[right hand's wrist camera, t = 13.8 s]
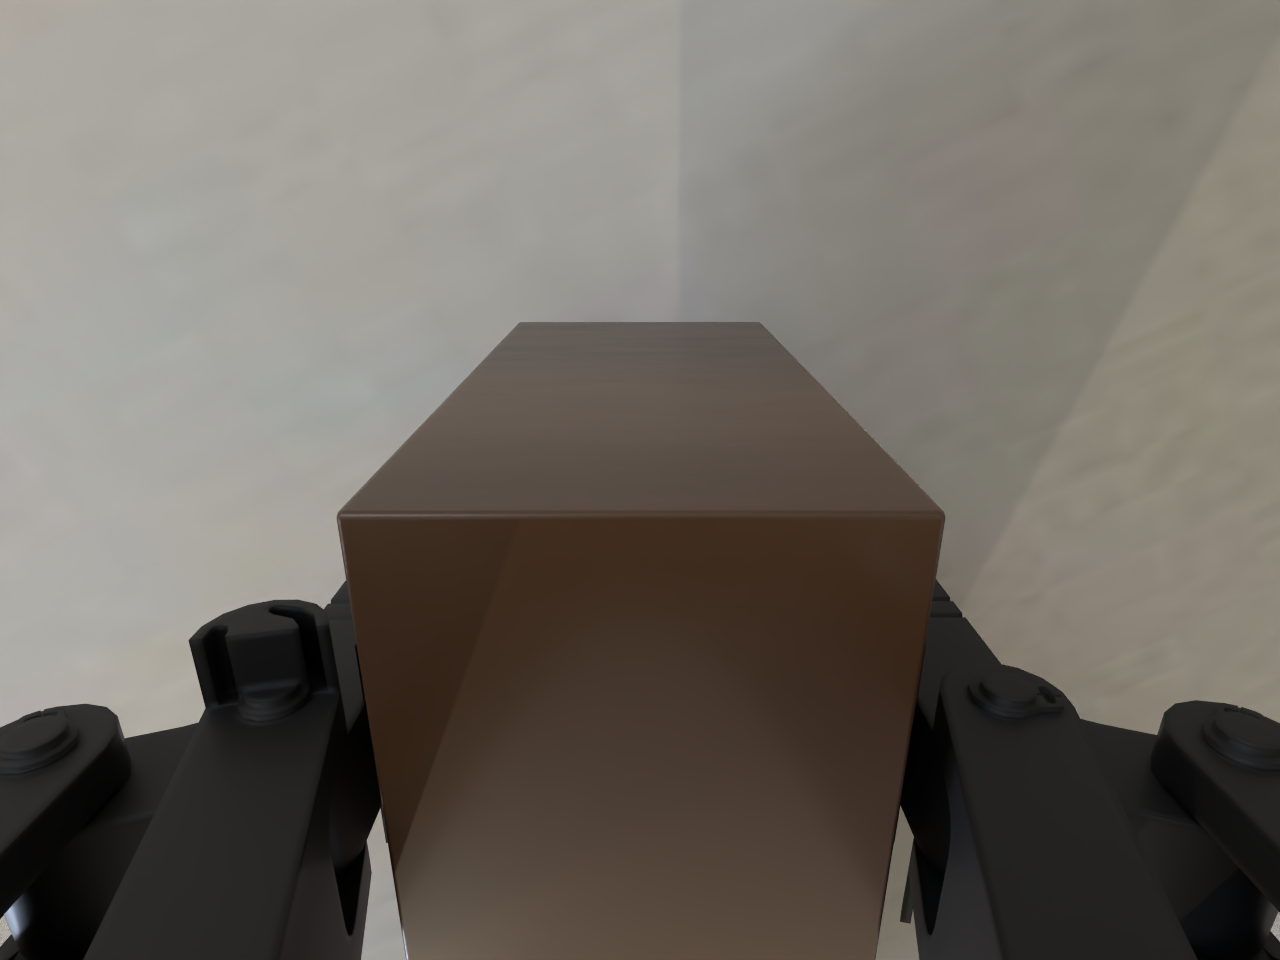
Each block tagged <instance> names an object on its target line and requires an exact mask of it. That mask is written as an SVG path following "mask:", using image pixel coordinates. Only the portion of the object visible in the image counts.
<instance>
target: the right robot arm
mask: <svg viewBox="0 0 1280 960" xmlns="http://www.w3.org/2000/svg"><path fill="white" fill-rule="evenodd" d="M189 644H190V648H191V652H192V656H193V660H194V664H195V668H196V672H197V676H198V679H199V683H200V687H201V691H202V695H203V699H204V703H205V707H206V709H205V711H204V713H203V715H202V717H201V719H200V721H199V723H195V724H191V725H188V726H184V727H179V728H174V729H169V730H164V731H159V732H154V733H149V734H144V735H139V736H134V737H129V738H124V736H123V733H122V729H121V726H120V723H119V720H118V716H117V715H115V714H114V713H113V712H112V711H111V710H109V709H108V708H107V707H103V706H97V705H90V704H79V705H70V706H60V707H54V708H49V709H44V711H37V712H34V713H31V714H28V715H25V716H23V717H21V718H20V719H19V720H16V721H14V722H12V723H10V724H7V725H5V726H3V727H1V728H0V919H1V918H2V916H3V915H4V917H5V919H6V921H7V924H8V926H9V929H10V931H11V933H12V934H11V935H10V936H9V938H8V939H7V940H6V941H5V942H4V943H3V945H2V946H1V947H0V960H361V954H362V946H363V937H364V929H365V921H366V913H367V905H368V897H369V889H370V881H371V865H370V858H369V852H368V846H367V838H368V836H369V833H370V831H371V829H372V826H373V824H374V822H375V819H376V817H377V814H378V812H379V810H380V807H381V813H382V819H383V826H384V832H385V838H386V843H388V840H387V834H386V827H385V821H384V815H383V808H382V802H381V796H380V789H379V783H378V777H377V770H376V764H375V758H374V751H373V745H372V739H371V732H370V726H369V720H368V713H367V707H366V701H365V694H364V688H363V682H362V675H361V669H360V663H359V656H358V650H357V644H356V637H355V631H354V625H353V618H352V612H351V605H350V599H349V593H348V586H347V580H346V581H345V582H344V584H343V585H342V586H341V588H340V589H339V590H338V592H337V593H336V594H335V595H334V597H333V598H332V599H331V604H328V605H327V606H326V607H325V609H324V610H323V609H322V608H321V607H320V606H318V605H317V604H314V603H310V602H306V601H301V600H272V601H267V602H262V603H256V604H251V605H247V606H244V607H241V608H239V609H236V610H233V611H230V612H227V613H225V614H222V615H221V616H219V617H217V618H215V619H214V620H212V621H210V622H209V623H207V624H205V625H203V626H202V627H201V628H200V629H199V630H198V631H197V632H196V633H195V634H194V635H193V636H192V637H191V638H190V639H189ZM900 805H901V807H902V810H903V812H904V814H905V817H906V819H907V821H908V824H909V826H910V828H911V831H912V833H913V835H914V840H913V846H912V852H911V857H910V863H909V869H908V875H907V881H906V886H905V892H904V898H903V904H902V911H901V918H900V922H905V923H910V922H911V917H912V911H913V912H914V920H915V928H916V936H917V944H918V952H919V960H1280V942H1279V940H1278V939H1277V938H1276V937H1275V936H1274V935H1273V934H1272V932H1271V931H1270V930H1271V928H1272V926H1273V923H1274V921H1275V918H1276V916H1277V914H1278V911H1279V912H1280V723H1278V722H1276V721H1273V720H1271V719H1269V718H1267V717H1264V716H1263V715H1261V714H1260V713H1258V712H1255V711H1252V710H1249V709H1246V708H1243V707H1241V708H1238V706H1235V705H1230V704H1226V703H1216V702H1206V701H1197V700H1195V701H1189V702H1183V703H1176V704H1174V705H1173V706H1172V707H1171V708H1169V709H1168V710H1167V711H1166V712H1164V715H1163V718H1162V722H1161V725H1160V728H1159V731H1158V735H1153V734H1148V733H1143V732H1138V731H1133V730H1128V729H1123V728H1118V727H1113V726H1108V725H1103V724H1098V723H1094V722H1091V721H1087V720H1083V719H1080V718H1079V716H1078V714H1077V711H1076V709H1075V707H1074V706H1073V705H1072V704H1071V702H1070V701H1069V700H1068V699H1067V697H1066V696H1065V695H1064V694H1063V692H1062V691H1060V690H1059V689H1057V688H1056V687H1054V686H1053V685H1051V684H1050V683H1048V682H1047V681H1046V680H1044V679H1043V678H1040V677H1038V676H1036V675H1033V674H1031V673H1029V672H1026V671H1024V670H1021V669H1019V668H1015V667H1011V666H1006V665H1002V664H1001V663H1000V662H999V661H998V659H997V658H996V657H995V655H994V654H993V653H992V651H991V650H990V649H989V648H988V646H987V645H986V644H985V642H984V641H983V640H982V638H981V637H980V636H979V635H978V633H977V632H976V631H975V629H974V628H973V627H972V626H971V624H970V623H969V622H968V620H967V619H966V618H963V617H962V613H961V611H960V610H959V609H958V607H957V606H956V605H955V603H954V602H953V601H950V597H949V596H948V594H947V593H946V592H945V590H944V589H943V588H942V587H941V585H940V584H939V583H938V581H937V580H936V579H935V586H934V592H933V598H932V604H931V611H930V617H929V623H928V630H927V636H926V642H925V649H924V655H923V661H922V667H921V674H920V680H919V686H918V693H917V699H916V705H915V712H914V718H913V724H912V730H911V737H910V743H909V749H908V756H907V762H906V768H905V775H904V781H903V787H902V793H901V800H900ZM899 810H900V806H899ZM898 816H899V812H898ZM897 822H898V819H897ZM896 829H897V825H896ZM895 835H896V831H895ZM894 841H895V837H894Z"/></svg>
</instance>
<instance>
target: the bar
mask: <svg viewBox="0 0 1280 960" xmlns="http://www.w3.org/2000/svg"><path fill="white" fill-rule="evenodd" d="M337 523H338V529H339V536H340V542H341V548H342V555H343V561H344V567H345V574H346V580H347V586H348V593H349V599H350V605H351V612H352V618H353V625H354V631H355V637H356V644H357V650H358V656H359V663H360V669H361V675H362V682H363V688H364V694H365V701H366V707H367V713H368V720H369V726H370V732H371V739H372V745H373V751H374V758H375V764H376V770H377V777H378V783H379V789H380V796H381V802H382V808H383V815H384V821H385V827H386V834H387V840H388V846H389V853H390V859H391V865H392V872H393V878H394V884H395V891H396V897H397V903H398V910H399V916H400V922H401V929H402V935H403V941H404V948H405V954H406V960H875V957H876V951H877V945H878V938H879V932H880V926H881V919H882V913H883V907H884V900H885V894H886V888H887V882H888V875H889V869H890V863H891V856H892V850H893V844H894V837H895V831H896V825H897V819H898V812H899V806H900V800H901V793H902V787H903V781H904V775H905V768H906V762H907V756H908V749H909V743H910V737H911V730H912V724H913V718H914V712H915V705H916V699H917V693H918V686H919V680H920V674H921V667H922V661H923V655H924V649H925V642H926V636H927V630H928V623H929V617H930V611H931V604H932V598H933V592H934V586H935V579H936V573H937V567H938V560H939V554H940V548H941V542H942V535H943V529H944V523H945V514H944V512H943V511H942V510H941V509H940V507H939V506H938V505H937V504H936V503H935V502H934V501H933V500H932V499H931V498H930V497H929V496H928V495H927V494H926V493H925V492H924V491H923V490H922V489H921V488H920V487H919V486H918V485H917V484H916V483H915V482H914V481H913V480H912V479H911V478H910V477H909V476H908V474H907V473H906V472H905V471H904V470H903V469H902V468H901V467H900V466H899V465H898V464H897V463H896V462H895V461H894V460H893V459H892V458H891V457H890V456H889V455H888V454H887V453H886V452H885V451H884V450H883V449H882V448H881V447H880V446H879V445H878V444H877V443H876V442H875V440H874V439H873V438H872V437H871V436H870V435H869V434H868V433H867V432H866V431H865V430H864V429H863V428H862V427H861V426H860V425H859V424H858V423H857V422H856V421H855V420H854V419H853V418H852V417H851V416H850V415H849V414H848V413H847V412H846V411H845V410H844V409H843V407H842V406H841V405H840V404H839V403H838V402H837V401H836V400H835V399H834V398H833V397H832V396H831V395H830V394H829V393H828V392H827V391H826V390H825V389H824V388H823V387H822V386H821V385H820V384H819V383H818V382H817V381H816V380H815V379H814V378H813V377H812V376H811V374H810V373H809V372H808V371H807V370H806V369H805V368H804V367H803V366H802V365H801V364H800V363H799V362H798V361H797V360H796V359H795V358H794V357H793V356H792V355H791V354H790V353H789V352H788V351H787V350H786V349H785V348H784V347H783V346H782V345H781V344H780V343H779V341H778V340H777V339H776V338H775V337H774V336H773V335H772V334H771V333H770V332H769V331H768V330H767V329H766V328H765V327H764V326H763V325H762V324H761V323H759V322H521V323H519V324H518V325H517V326H516V327H515V328H514V329H513V330H512V331H511V332H510V333H509V334H508V335H507V336H506V337H505V338H504V339H503V340H502V341H501V342H500V344H499V345H498V346H497V347H496V348H495V349H494V350H493V351H492V352H491V353H490V354H489V355H488V356H487V357H486V358H485V359H484V360H483V361H482V362H481V363H480V364H479V365H478V367H477V368H476V369H475V370H474V371H473V372H472V373H471V374H470V375H469V376H468V377H467V378H466V379H465V380H464V381H463V382H462V383H461V384H460V385H459V386H458V387H457V388H456V390H455V391H454V392H453V393H452V394H451V395H450V396H449V397H448V398H447V399H446V400H445V401H444V402H443V403H442V404H441V405H440V406H439V407H438V408H437V409H436V410H435V411H434V413H433V414H432V415H431V416H430V417H429V418H428V419H427V420H426V421H425V422H424V423H423V424H422V425H421V426H420V427H419V428H418V429H417V430H416V431H415V432H414V433H413V434H412V436H411V437H410V438H409V439H408V440H407V441H406V442H405V443H404V444H403V445H402V446H401V447H400V448H399V449H398V450H397V451H396V452H395V453H394V454H393V455H392V456H391V457H390V459H389V460H388V461H387V462H386V463H385V464H384V465H383V466H382V467H381V468H380V469H379V470H378V471H377V472H376V473H375V474H374V475H373V476H372V477H371V478H370V479H369V480H368V482H367V483H366V484H365V485H364V486H363V487H362V488H361V489H360V490H359V491H358V492H357V493H356V494H355V495H354V496H353V497H352V498H351V499H350V500H349V501H348V502H347V503H346V505H345V506H344V507H343V508H342V509H341V510H340V511H339V512H338V515H337Z"/></svg>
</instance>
